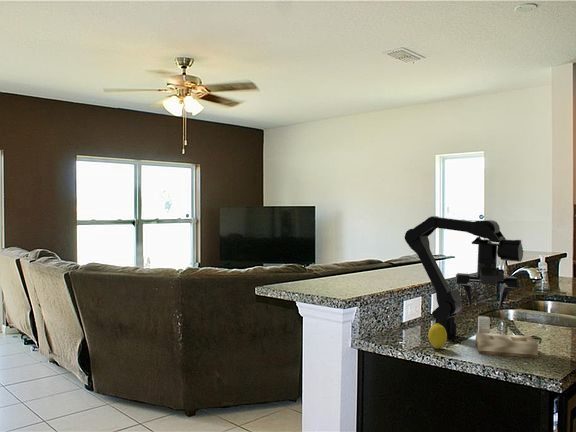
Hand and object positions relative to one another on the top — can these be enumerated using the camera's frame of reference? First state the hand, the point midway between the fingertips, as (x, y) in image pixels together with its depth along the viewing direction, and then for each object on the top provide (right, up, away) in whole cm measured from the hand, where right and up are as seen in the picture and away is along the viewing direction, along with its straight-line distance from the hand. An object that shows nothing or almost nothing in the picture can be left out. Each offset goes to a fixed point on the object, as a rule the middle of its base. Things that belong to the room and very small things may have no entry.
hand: (485, 306), depth 163 cm
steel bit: (0, -12, +1) cm, 12 cm away
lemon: (-18, -12, -8) cm, 23 cm away
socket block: (+2, -12, -10) cm, 16 cm away
